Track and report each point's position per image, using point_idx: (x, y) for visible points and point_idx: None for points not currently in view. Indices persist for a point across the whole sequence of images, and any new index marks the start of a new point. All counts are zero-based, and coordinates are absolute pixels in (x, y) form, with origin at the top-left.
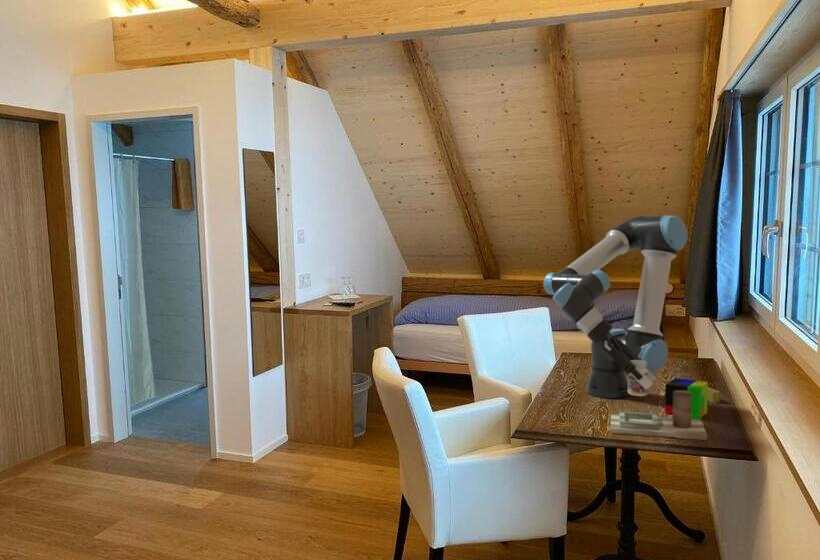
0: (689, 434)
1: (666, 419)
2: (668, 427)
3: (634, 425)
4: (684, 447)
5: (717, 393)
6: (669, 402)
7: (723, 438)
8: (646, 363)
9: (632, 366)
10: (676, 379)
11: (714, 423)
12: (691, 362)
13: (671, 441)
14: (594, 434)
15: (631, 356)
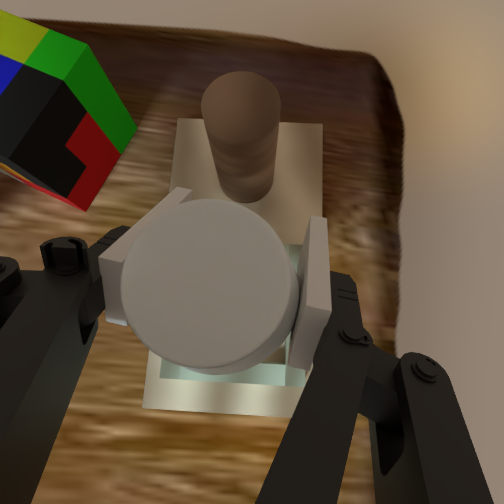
0: (321, 169)
1: None
2: (272, 219)
3: None
4: (398, 198)
5: None
6: (68, 180)
7: (294, 93)
8: (238, 206)
9: (428, 361)
10: None
11: (163, 92)
12: None
13: (354, 226)
14: (344, 478)
15: (56, 345)
